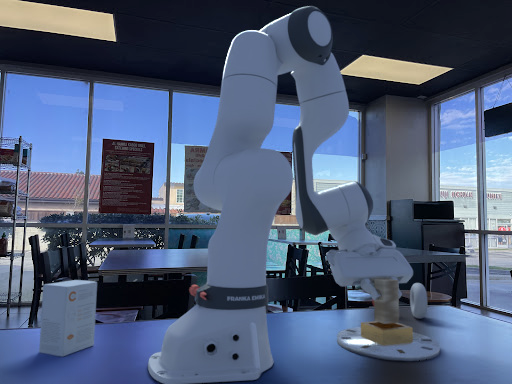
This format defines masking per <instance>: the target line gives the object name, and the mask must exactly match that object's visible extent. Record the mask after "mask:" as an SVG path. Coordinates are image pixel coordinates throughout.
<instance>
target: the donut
mask: <svg viewBox="0 0 512 384" xmlns="http://www.w3.org/2000/svg"><path fill="white" fill-rule="evenodd" d="M409 305H410V311H411V314H412V316H413V317H414V318H416V319H419V320H420V319H421V320H422V319H423V318H425V316H426V314H427V311H428V293H427V290H426V287H425V286H424V284H422V283H420V282H415V283H413V284H412V286H411V288H410V293H409Z"/></svg>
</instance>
